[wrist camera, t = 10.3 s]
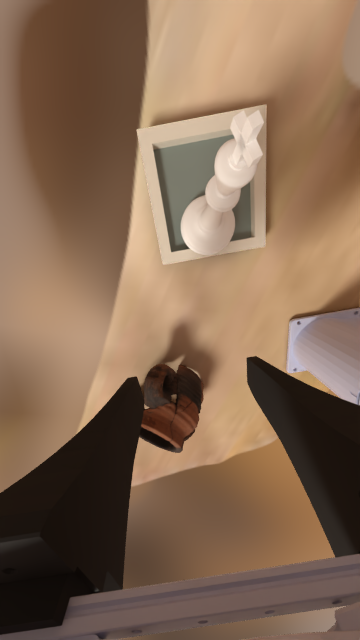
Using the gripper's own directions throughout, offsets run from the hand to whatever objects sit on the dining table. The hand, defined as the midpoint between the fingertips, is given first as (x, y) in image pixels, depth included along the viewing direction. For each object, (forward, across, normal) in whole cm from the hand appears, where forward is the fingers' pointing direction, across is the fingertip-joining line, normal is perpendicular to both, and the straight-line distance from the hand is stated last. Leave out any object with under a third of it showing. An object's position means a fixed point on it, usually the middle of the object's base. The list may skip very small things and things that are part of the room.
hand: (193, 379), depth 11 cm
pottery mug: (+11, +4, +9) cm, 14 cm away
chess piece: (+9, -4, -10) cm, 14 cm away
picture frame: (+10, -4, -12) cm, 16 cm away
